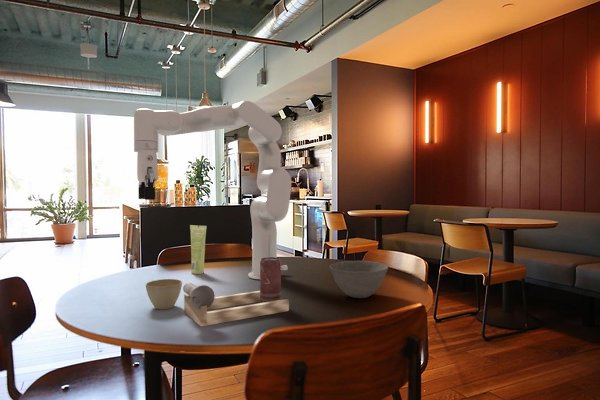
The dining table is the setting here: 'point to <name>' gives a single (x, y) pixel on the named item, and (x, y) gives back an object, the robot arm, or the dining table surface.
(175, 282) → the flower pot
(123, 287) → the dining table surface
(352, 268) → the bowl
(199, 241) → the tube
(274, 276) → the can
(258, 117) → the robot arm
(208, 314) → the bay
